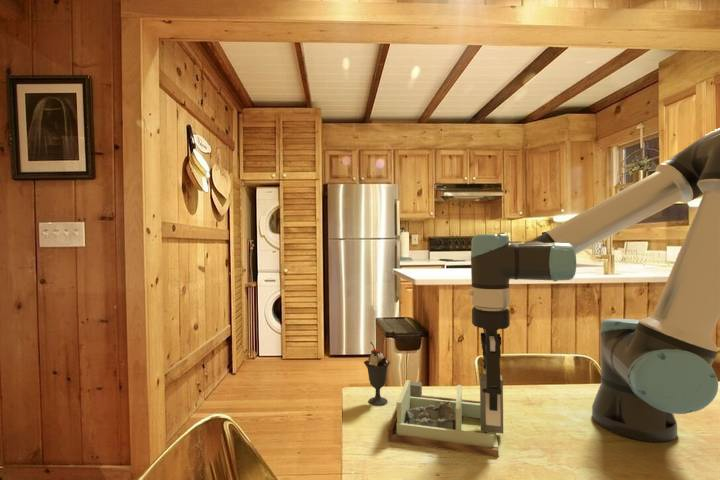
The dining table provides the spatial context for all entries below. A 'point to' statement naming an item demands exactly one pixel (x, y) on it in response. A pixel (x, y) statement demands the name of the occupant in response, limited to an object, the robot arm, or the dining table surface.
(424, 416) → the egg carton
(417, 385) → the broken strip
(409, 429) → the sage green shelf unit
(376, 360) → the sundae
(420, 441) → the frame
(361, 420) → the dining table surface
